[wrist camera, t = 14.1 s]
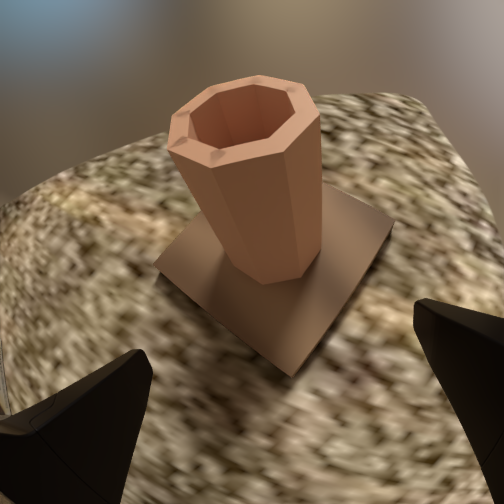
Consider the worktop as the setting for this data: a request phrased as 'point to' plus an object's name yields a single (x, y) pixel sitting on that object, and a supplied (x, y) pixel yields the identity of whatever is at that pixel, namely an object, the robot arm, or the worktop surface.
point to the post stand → (285, 292)
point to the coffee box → (3, 391)
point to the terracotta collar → (255, 172)
